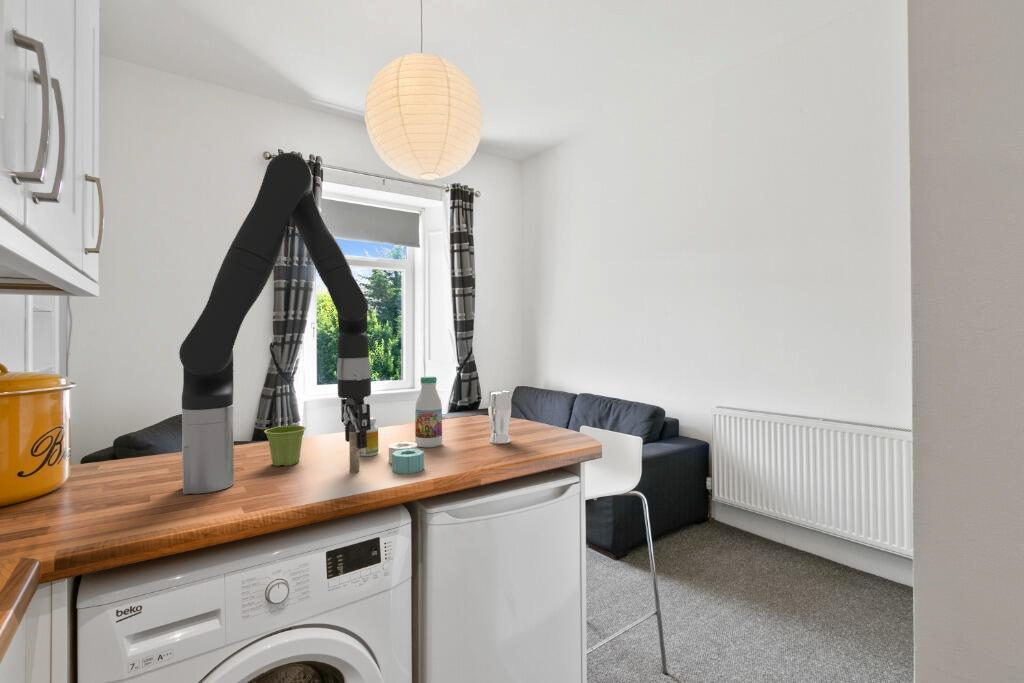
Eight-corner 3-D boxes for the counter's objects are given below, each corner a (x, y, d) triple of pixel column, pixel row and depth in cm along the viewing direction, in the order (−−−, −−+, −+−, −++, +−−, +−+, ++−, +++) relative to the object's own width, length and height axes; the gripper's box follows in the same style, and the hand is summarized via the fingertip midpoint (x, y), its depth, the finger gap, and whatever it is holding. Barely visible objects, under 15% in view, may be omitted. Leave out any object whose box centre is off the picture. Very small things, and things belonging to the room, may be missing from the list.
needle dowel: (351, 473, 113) (350, 426, 113) (348, 470, 115) (348, 424, 115) (360, 471, 114) (360, 425, 114) (357, 469, 116) (357, 423, 116)
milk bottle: (414, 443, 144) (413, 376, 143) (439, 441, 146) (439, 375, 145) (417, 449, 136) (416, 378, 136) (444, 447, 138) (443, 377, 138)
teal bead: (400, 475, 111) (399, 458, 111) (388, 468, 117) (388, 451, 117) (427, 470, 115) (427, 453, 115) (415, 463, 121) (415, 447, 121)
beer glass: (515, 441, 146) (515, 391, 145) (503, 445, 140) (503, 394, 140) (496, 438, 149) (496, 390, 149) (483, 442, 144) (483, 392, 143)
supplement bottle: (381, 451, 133) (381, 416, 133) (373, 456, 128) (373, 420, 127) (362, 451, 134) (362, 416, 133) (354, 456, 128) (354, 420, 128)
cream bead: (403, 465, 119) (402, 449, 119) (383, 461, 123) (382, 446, 122) (422, 459, 125) (422, 444, 125) (402, 455, 128) (402, 440, 128)
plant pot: (276, 470, 115) (276, 434, 115) (257, 464, 121) (257, 429, 120) (313, 462, 122) (312, 428, 122) (293, 456, 128) (293, 424, 128)
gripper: (329, 375, 118) (331, 441, 118) (347, 380, 106) (349, 453, 107) (360, 373, 122) (361, 437, 123) (380, 377, 111) (382, 447, 111)
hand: (355, 444), depth 115 cm, fingers open, 8 cm apart
